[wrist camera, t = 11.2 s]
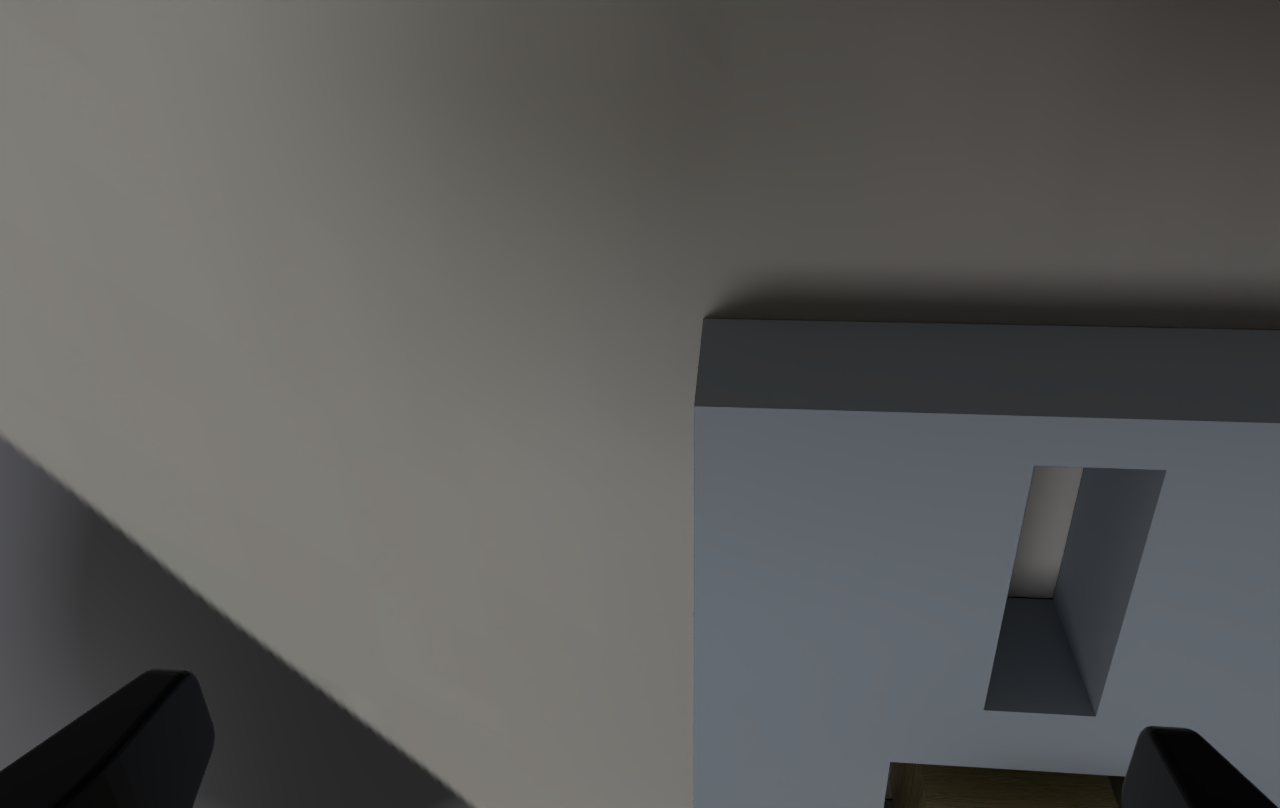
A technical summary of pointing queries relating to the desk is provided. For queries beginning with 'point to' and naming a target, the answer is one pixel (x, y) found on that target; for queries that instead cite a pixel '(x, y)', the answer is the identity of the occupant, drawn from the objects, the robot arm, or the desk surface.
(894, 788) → the brass square bit
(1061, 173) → the desk surface
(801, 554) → the slate bore board
